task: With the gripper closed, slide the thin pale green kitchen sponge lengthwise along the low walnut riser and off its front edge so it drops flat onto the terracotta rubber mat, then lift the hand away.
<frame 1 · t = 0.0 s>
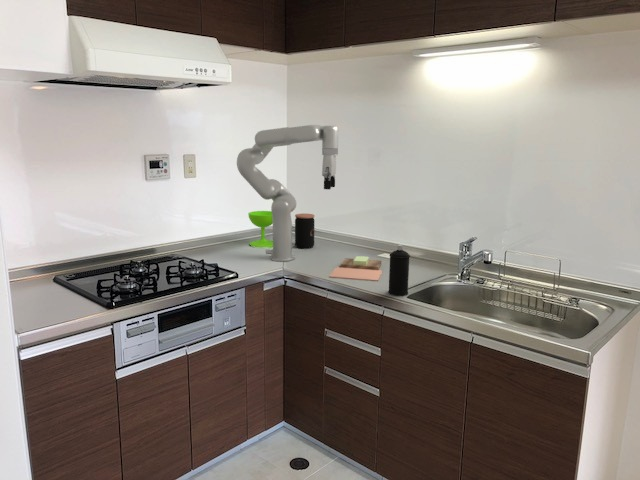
hand: (329, 188, 251), 37 cm above the worktop, tool pointing down, fingers open, 9 cm apart
coffee jar: (304, 247, 290), on the worktop
riser: (361, 266, 251), on the worktop
wineglass: (263, 245, 294), on the worktop
sponge: (361, 260, 250), point 3 cm above the worktop, touching riser
mat: (356, 274, 238), on the worktop
aerosol can: (398, 293, 212), on the worktop
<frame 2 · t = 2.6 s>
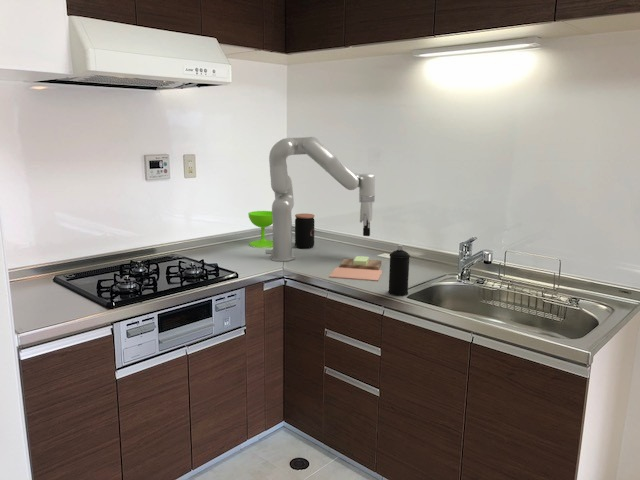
hand: (366, 235, 259), 13 cm above the worktop, tool pointing down, fingers closed
nothing on the worktop moved.
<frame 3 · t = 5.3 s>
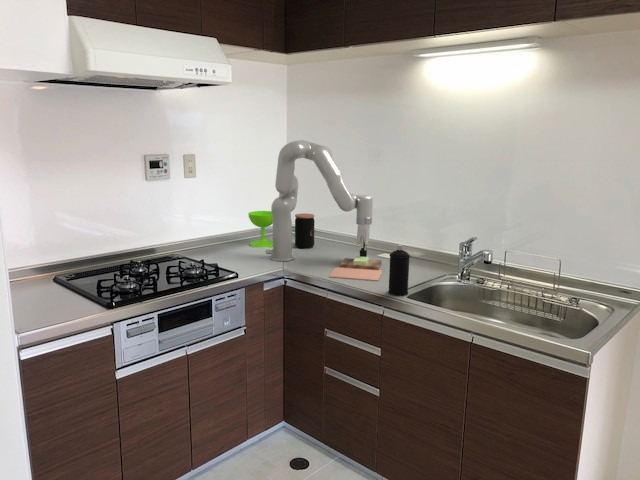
hand: (363, 257, 255), 3 cm above the worktop, tool pointing down, fingers closed
sponge: (361, 260, 249), point 3 cm above the worktop, touching gripper, riser
everything else where it was.
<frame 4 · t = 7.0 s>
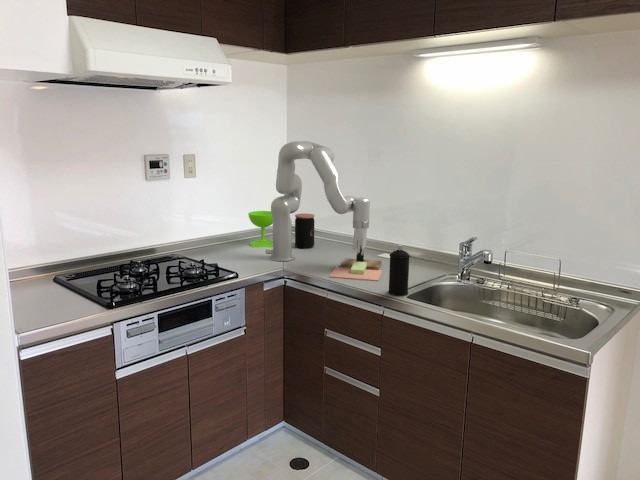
hand: (359, 262, 246), 3 cm above the worktop, tool pointing down, fingers closed
sponge: (358, 267, 240), point 2 cm above the worktop, tilted 10°, touching gripper
everything else where it was.
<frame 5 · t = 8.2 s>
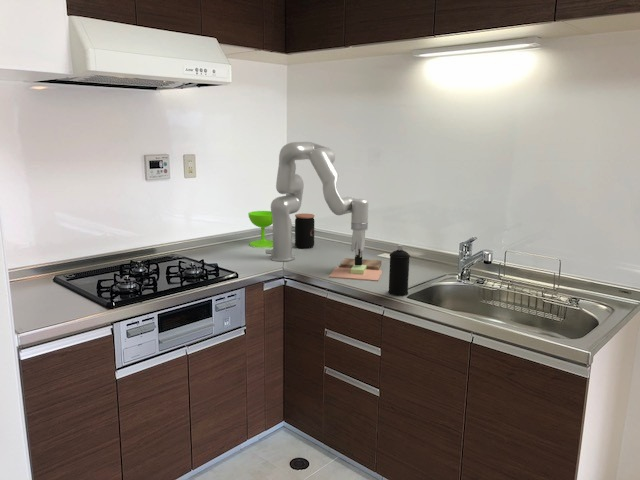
hand: (358, 264, 242), 3 cm above the worktop, tool pointing down, fingers closed
sponge: (358, 269, 240), point 1 cm above the worktop, touching mat
everything else where it was.
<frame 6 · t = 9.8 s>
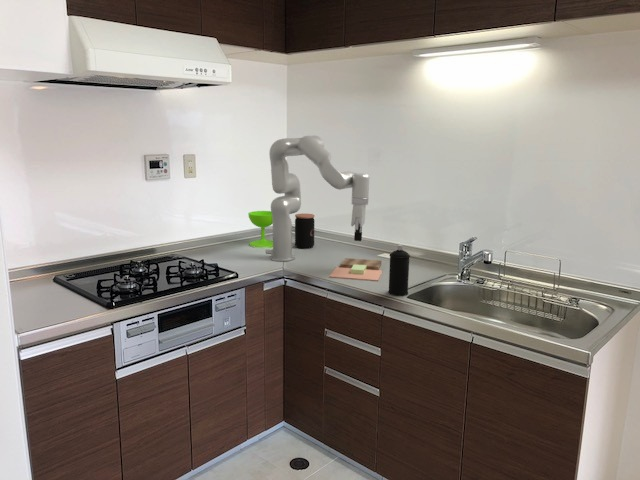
hand: (357, 240, 239), 15 cm above the worktop, tool pointing down, fingers closed
nothing on the worktop moved.
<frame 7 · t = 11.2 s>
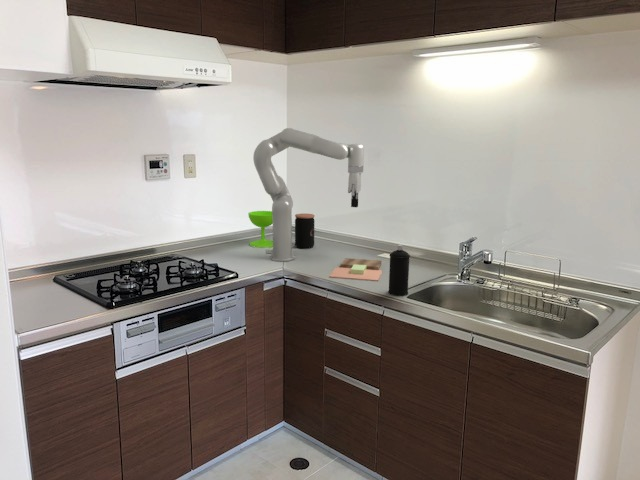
hand: (354, 206, 258), 27 cm above the worktop, tool pointing down, fingers closed
nothing on the worktop moved.
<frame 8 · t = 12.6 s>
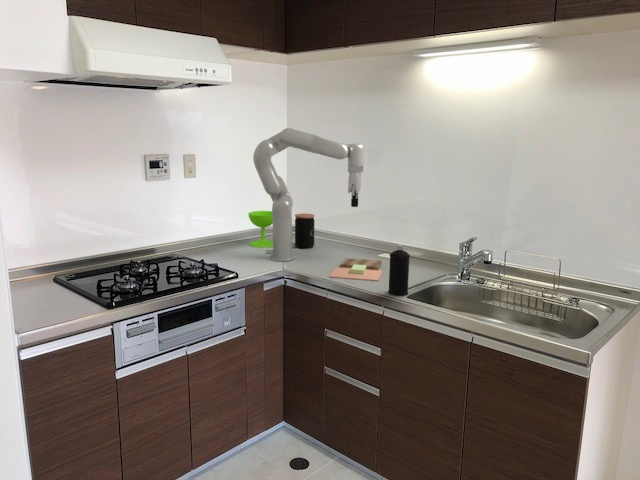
hand: (354, 206, 258), 27 cm above the worktop, tool pointing down, fingers closed
nothing on the worktop moved.
at the end: sponge inside the target area (3.7 cm from its centre), point 1.5 cm above the worktop; sponge moved 10.2 cm from its start; the gripper is holding nothing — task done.
